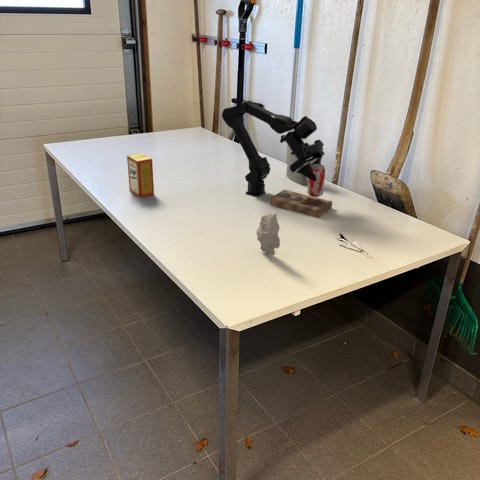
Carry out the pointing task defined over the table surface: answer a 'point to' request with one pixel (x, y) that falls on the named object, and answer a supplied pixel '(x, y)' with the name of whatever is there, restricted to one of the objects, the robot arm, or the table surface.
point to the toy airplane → (350, 243)
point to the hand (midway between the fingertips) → (319, 178)
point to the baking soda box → (140, 175)
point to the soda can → (316, 187)
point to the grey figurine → (268, 233)
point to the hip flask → (295, 176)
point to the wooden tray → (301, 203)
